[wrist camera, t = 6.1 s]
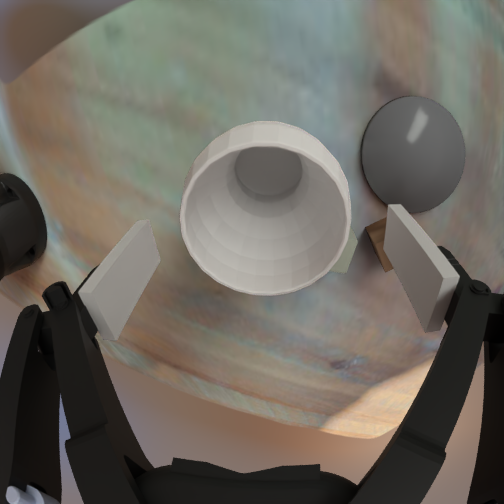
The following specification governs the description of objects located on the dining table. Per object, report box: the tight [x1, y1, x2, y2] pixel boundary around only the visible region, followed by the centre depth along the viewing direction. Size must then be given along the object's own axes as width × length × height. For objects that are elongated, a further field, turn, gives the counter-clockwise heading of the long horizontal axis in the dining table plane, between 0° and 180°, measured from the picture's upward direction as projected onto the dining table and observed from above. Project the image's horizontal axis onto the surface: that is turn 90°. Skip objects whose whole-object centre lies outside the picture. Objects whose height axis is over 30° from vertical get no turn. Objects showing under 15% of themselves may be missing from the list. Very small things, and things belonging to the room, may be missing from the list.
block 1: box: [329, 226, 358, 274], centre depth 31 cm, size 4×4×4 cm
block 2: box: [365, 217, 394, 272], centre depth 30 cm, size 4×4×4 cm
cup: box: [179, 121, 351, 296], centre depth 22 cm, size 11×11×15 cm
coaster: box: [361, 96, 465, 213], centre depth 26 cm, size 13×13×1 cm
